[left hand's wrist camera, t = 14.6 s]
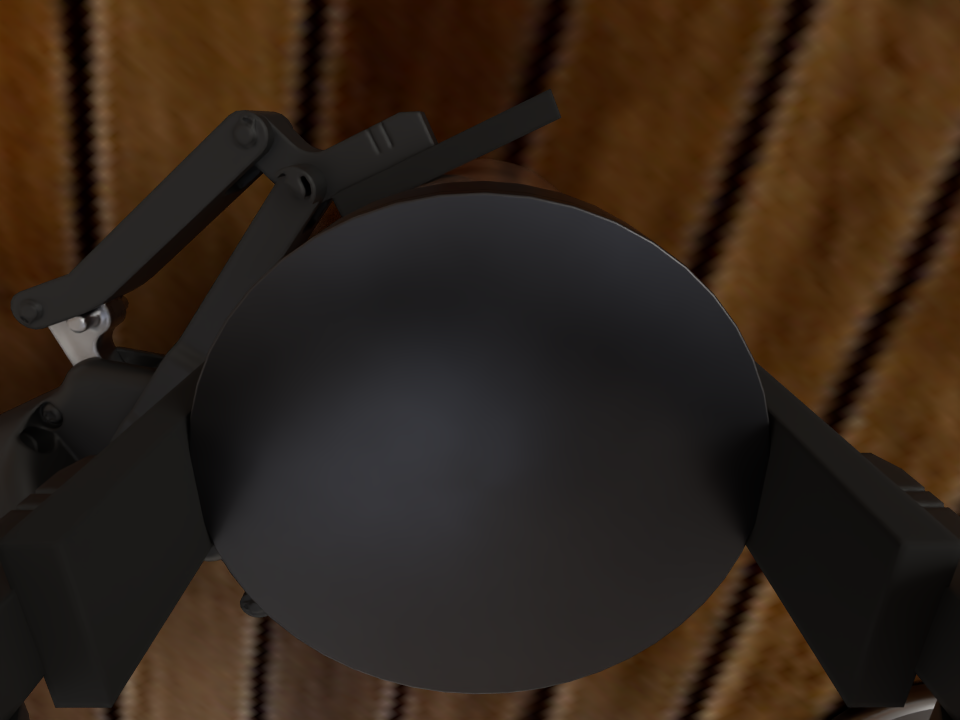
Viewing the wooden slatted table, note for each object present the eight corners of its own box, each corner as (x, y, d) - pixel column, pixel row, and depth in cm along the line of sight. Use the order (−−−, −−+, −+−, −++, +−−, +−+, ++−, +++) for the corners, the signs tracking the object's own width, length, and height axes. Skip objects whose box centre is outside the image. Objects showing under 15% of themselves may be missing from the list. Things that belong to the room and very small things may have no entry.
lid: (142, 470, 12) (87, 527, 11) (428, 47, 9) (417, 30, 8) (512, 685, 15) (516, 760, 13) (834, 400, 12) (895, 448, 10)
